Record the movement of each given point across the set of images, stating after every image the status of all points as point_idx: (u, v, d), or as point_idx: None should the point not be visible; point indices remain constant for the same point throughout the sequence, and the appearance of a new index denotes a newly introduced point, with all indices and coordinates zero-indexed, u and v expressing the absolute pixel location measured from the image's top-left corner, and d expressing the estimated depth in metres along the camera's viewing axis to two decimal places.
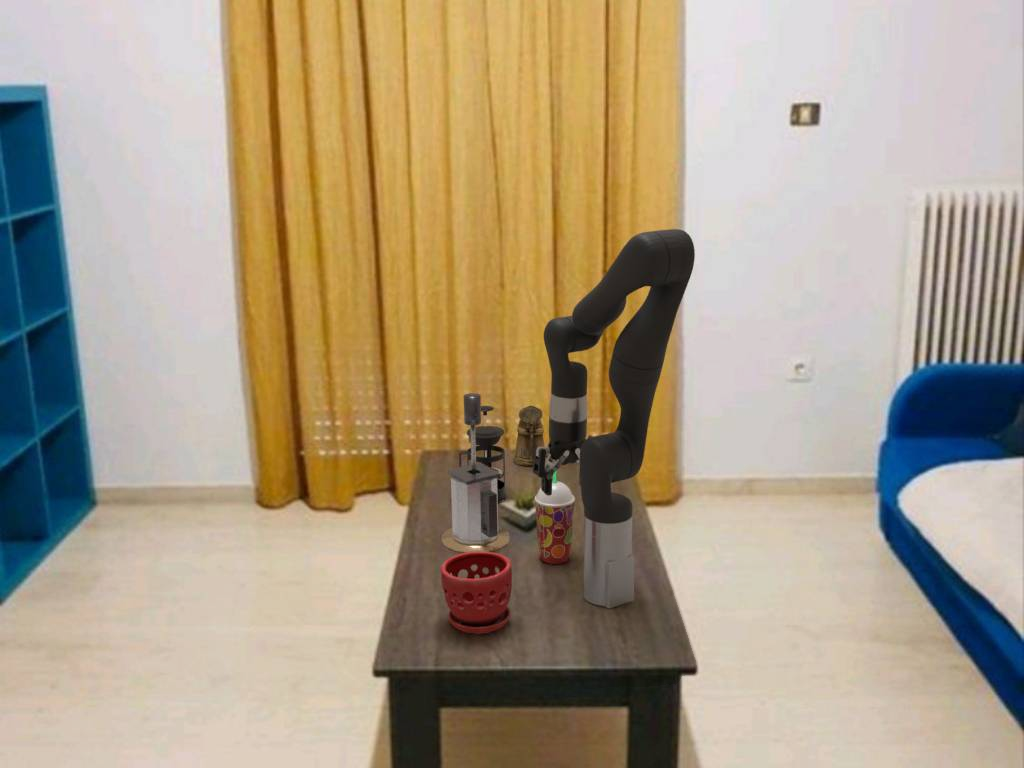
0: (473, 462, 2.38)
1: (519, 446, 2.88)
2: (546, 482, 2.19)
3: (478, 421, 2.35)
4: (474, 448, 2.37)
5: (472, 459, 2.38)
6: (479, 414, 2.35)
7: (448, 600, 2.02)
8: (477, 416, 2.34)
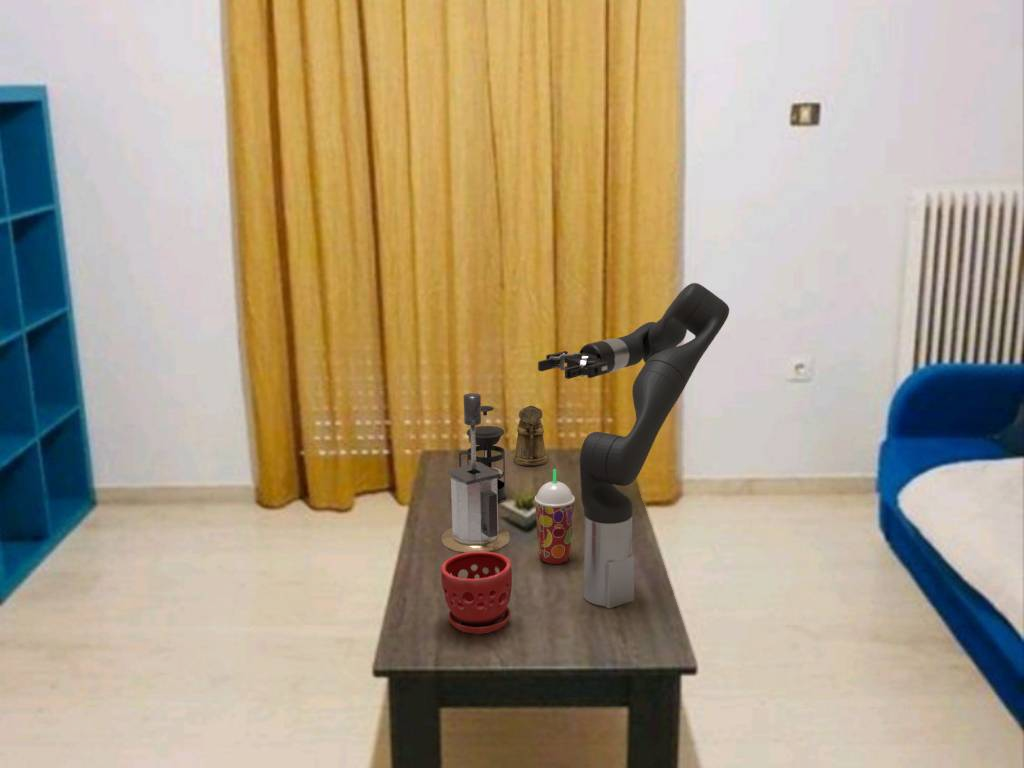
0: (473, 462, 2.38)
1: (519, 446, 2.88)
2: None
3: (478, 421, 2.35)
4: (474, 448, 2.37)
5: (472, 459, 2.38)
6: (479, 414, 2.35)
7: (448, 600, 2.02)
8: (477, 416, 2.34)
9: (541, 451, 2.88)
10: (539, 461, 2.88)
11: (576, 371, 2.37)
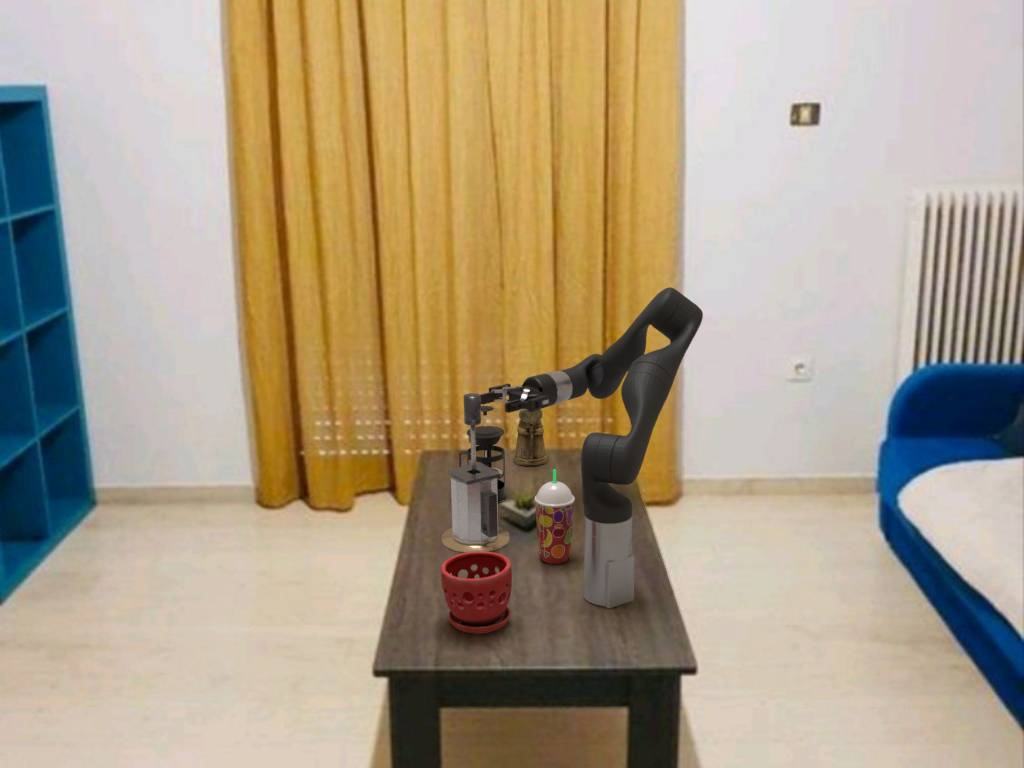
0: (473, 462, 2.38)
1: (519, 446, 2.88)
2: None
3: (478, 421, 2.35)
4: (474, 448, 2.37)
5: (472, 459, 2.38)
6: (479, 414, 2.35)
7: (448, 600, 2.02)
8: (477, 416, 2.34)
9: (541, 451, 2.88)
10: (539, 461, 2.88)
11: (516, 405, 2.36)
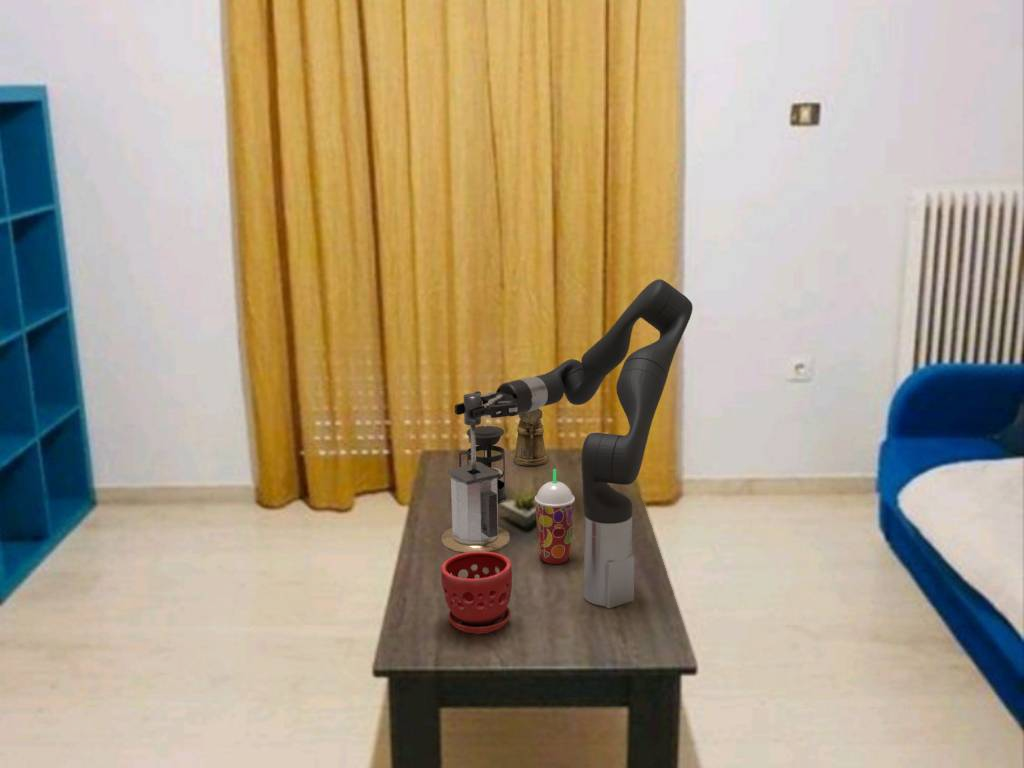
0: (473, 462, 2.38)
1: (519, 446, 2.88)
2: None
3: (478, 421, 2.35)
4: (474, 448, 2.37)
5: (472, 459, 2.38)
6: None
7: (448, 600, 2.02)
8: None
9: (541, 451, 2.88)
10: (539, 461, 2.88)
11: (479, 411, 2.32)
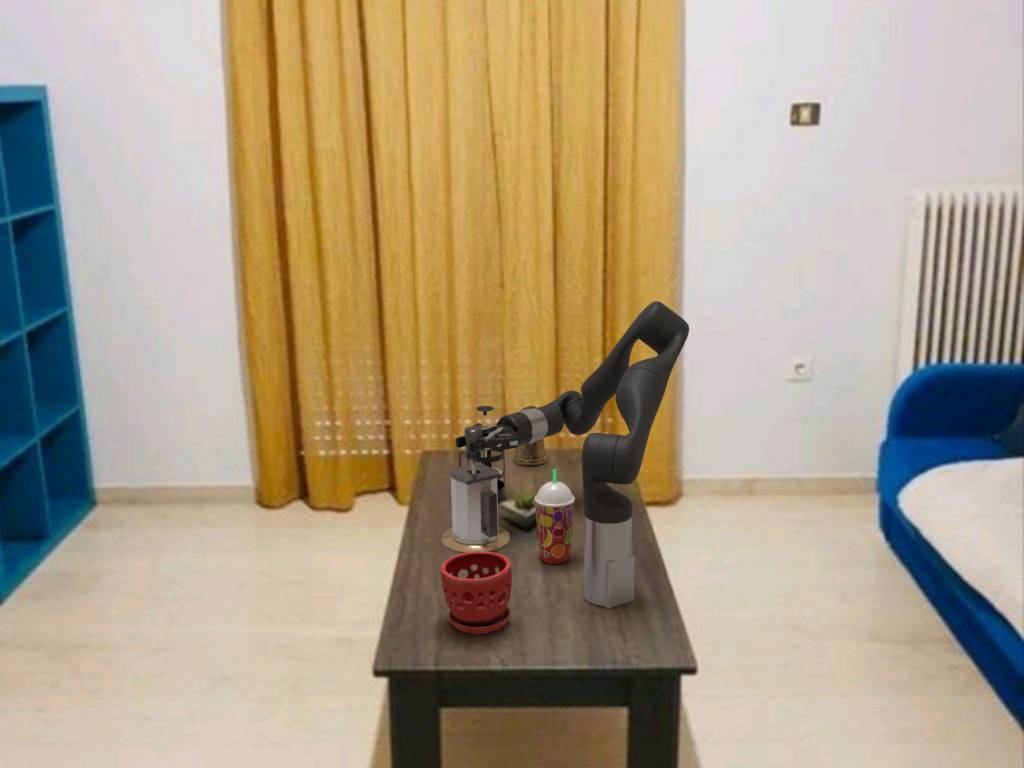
0: None
1: None
2: None
3: (479, 454, 2.37)
4: None
5: None
6: None
7: (448, 600, 2.02)
8: None
9: (541, 451, 2.88)
10: (539, 461, 2.88)
11: (479, 445, 2.34)
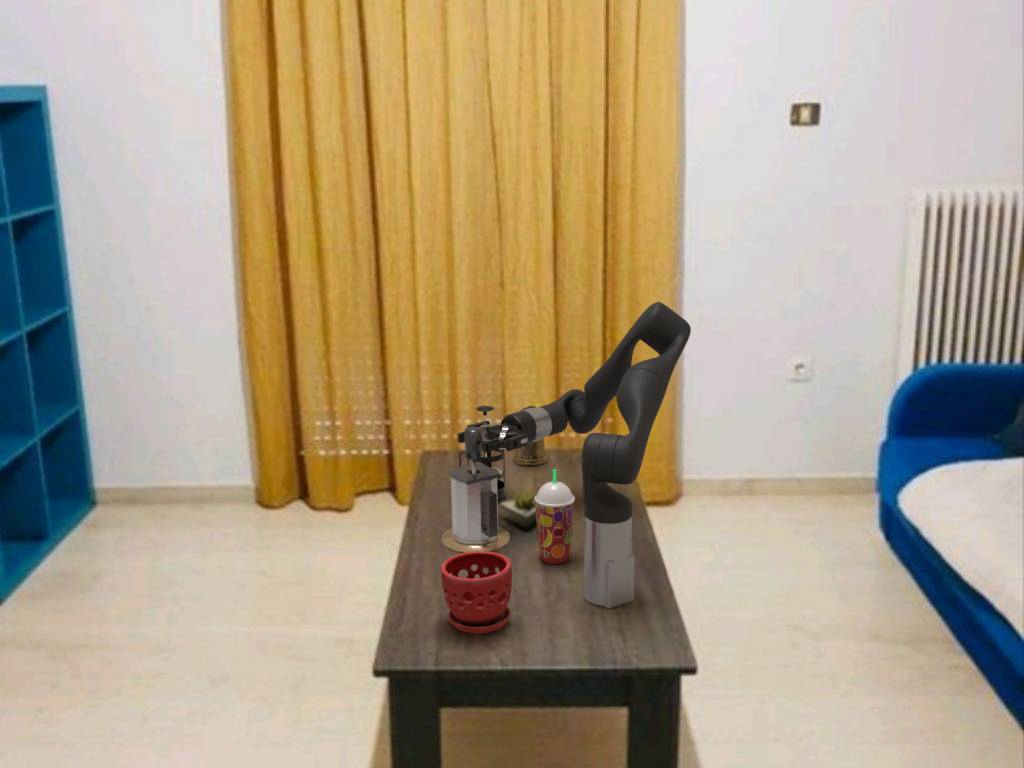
0: None
1: None
2: None
3: (479, 454, 2.37)
4: None
5: None
6: (480, 447, 2.37)
7: (448, 600, 2.02)
8: (478, 449, 2.36)
9: (541, 451, 2.88)
10: (539, 461, 2.88)
11: (494, 445, 2.34)
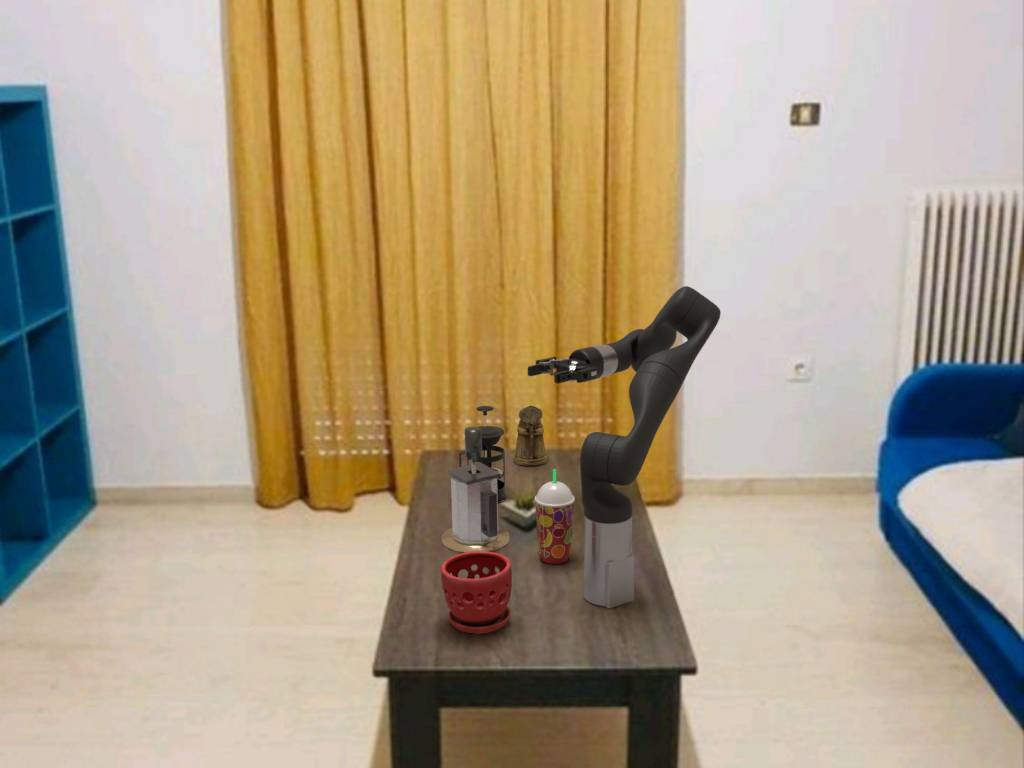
0: None
1: (519, 446, 2.88)
2: None
3: (479, 454, 2.37)
4: None
5: None
6: (480, 447, 2.37)
7: (448, 600, 2.02)
8: (478, 449, 2.36)
9: (541, 451, 2.88)
10: (539, 461, 2.88)
11: (566, 376, 2.38)
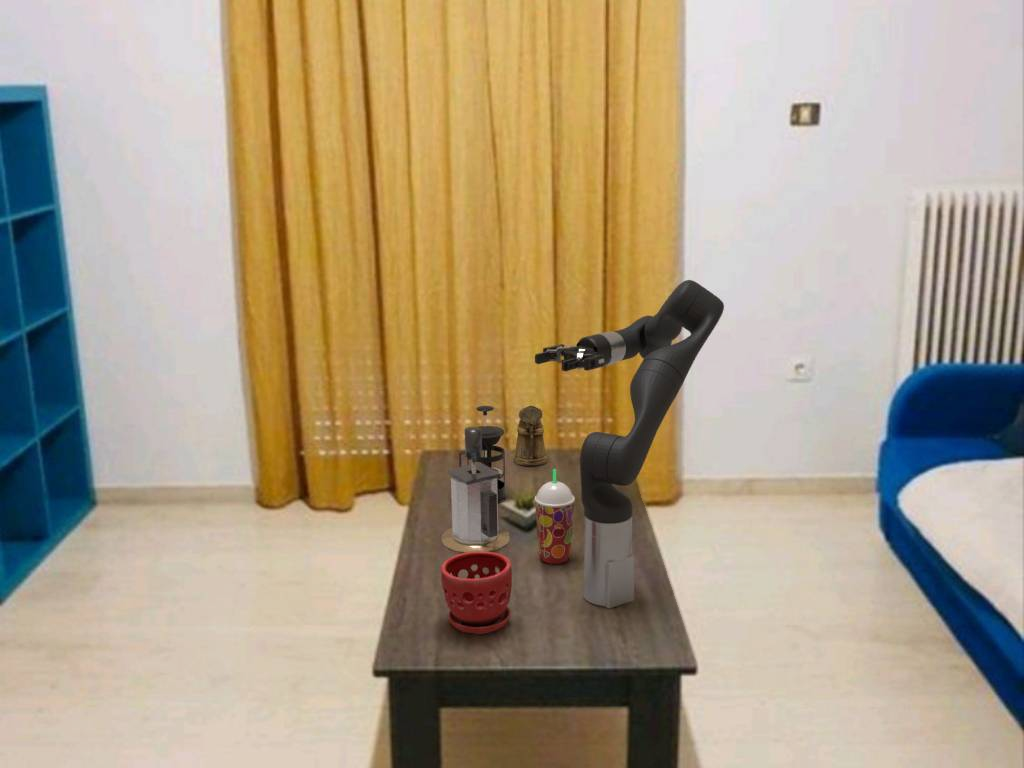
0: None
1: (519, 446, 2.88)
2: None
3: (479, 454, 2.37)
4: None
5: None
6: (480, 447, 2.37)
7: (448, 600, 2.02)
8: (478, 449, 2.36)
9: (541, 451, 2.88)
10: (539, 461, 2.88)
11: (573, 364, 2.38)
